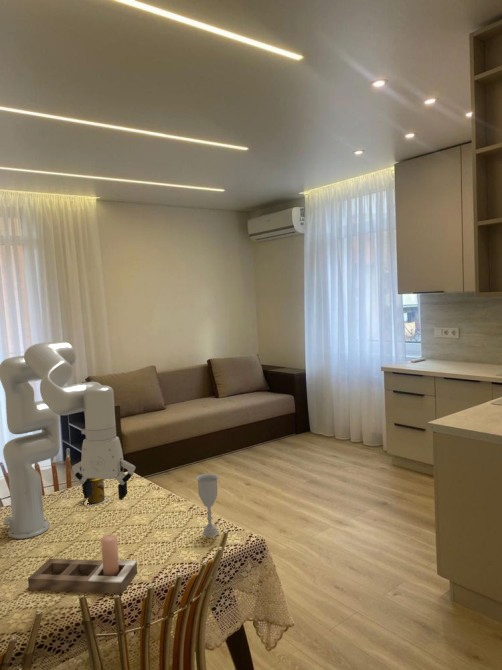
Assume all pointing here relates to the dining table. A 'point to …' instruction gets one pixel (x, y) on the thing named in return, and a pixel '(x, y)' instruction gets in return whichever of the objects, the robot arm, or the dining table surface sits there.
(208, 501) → the chalice
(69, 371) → the robot arm
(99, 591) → the block with square holes
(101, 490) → the condiment
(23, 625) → the dining table surface
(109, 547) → the peg
